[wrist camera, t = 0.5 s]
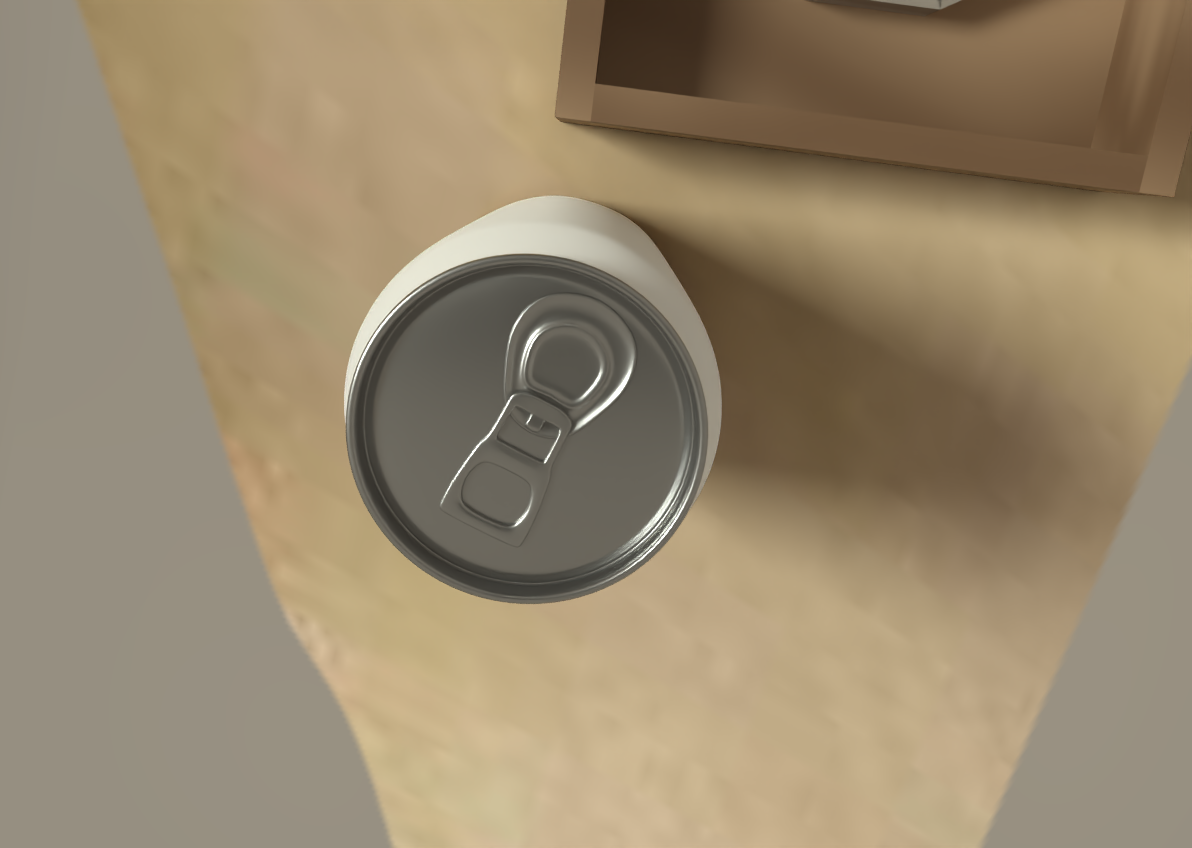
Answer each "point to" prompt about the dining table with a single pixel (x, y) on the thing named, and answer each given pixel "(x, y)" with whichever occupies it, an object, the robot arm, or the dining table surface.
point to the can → (533, 403)
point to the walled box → (900, 82)
